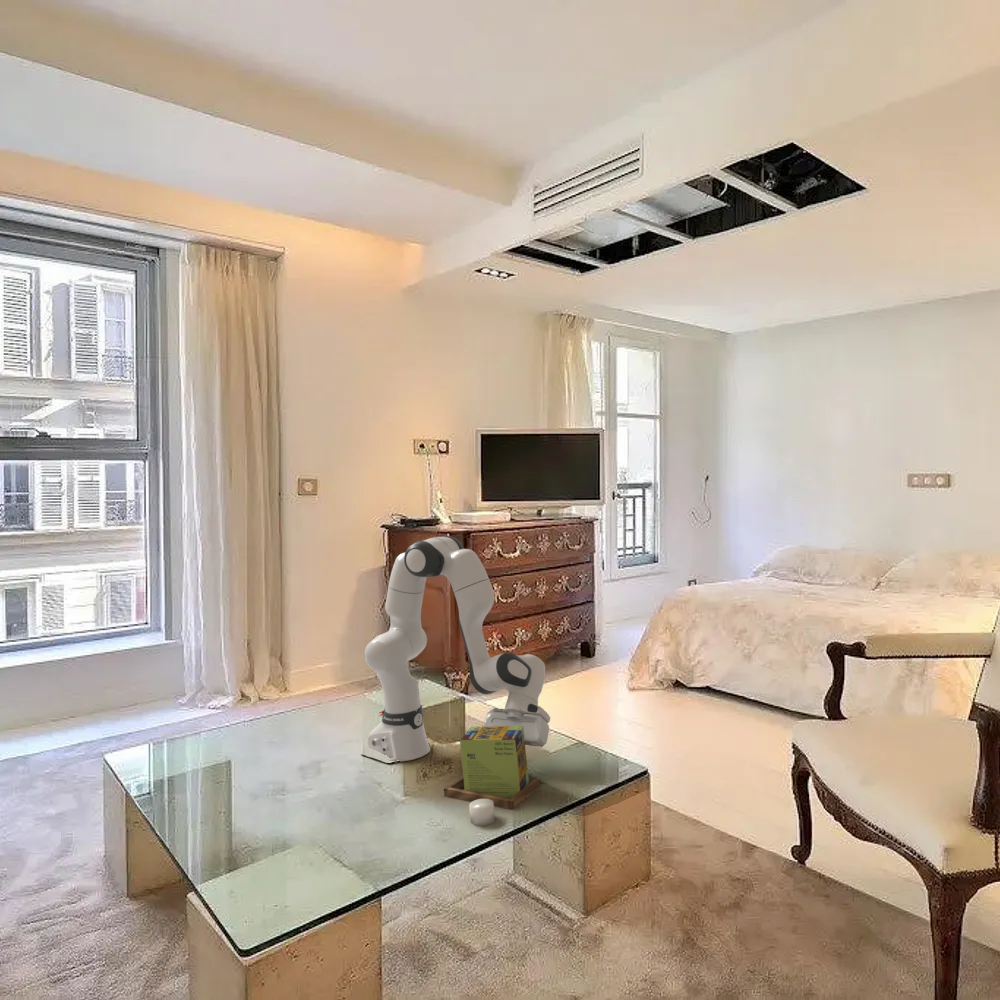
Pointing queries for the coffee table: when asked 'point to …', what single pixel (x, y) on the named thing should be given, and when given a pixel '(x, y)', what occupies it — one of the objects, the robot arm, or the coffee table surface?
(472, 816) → the white rounded block
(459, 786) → the open wooden frame
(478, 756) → the protein box
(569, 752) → the coffee table surface
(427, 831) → the coffee table surface
